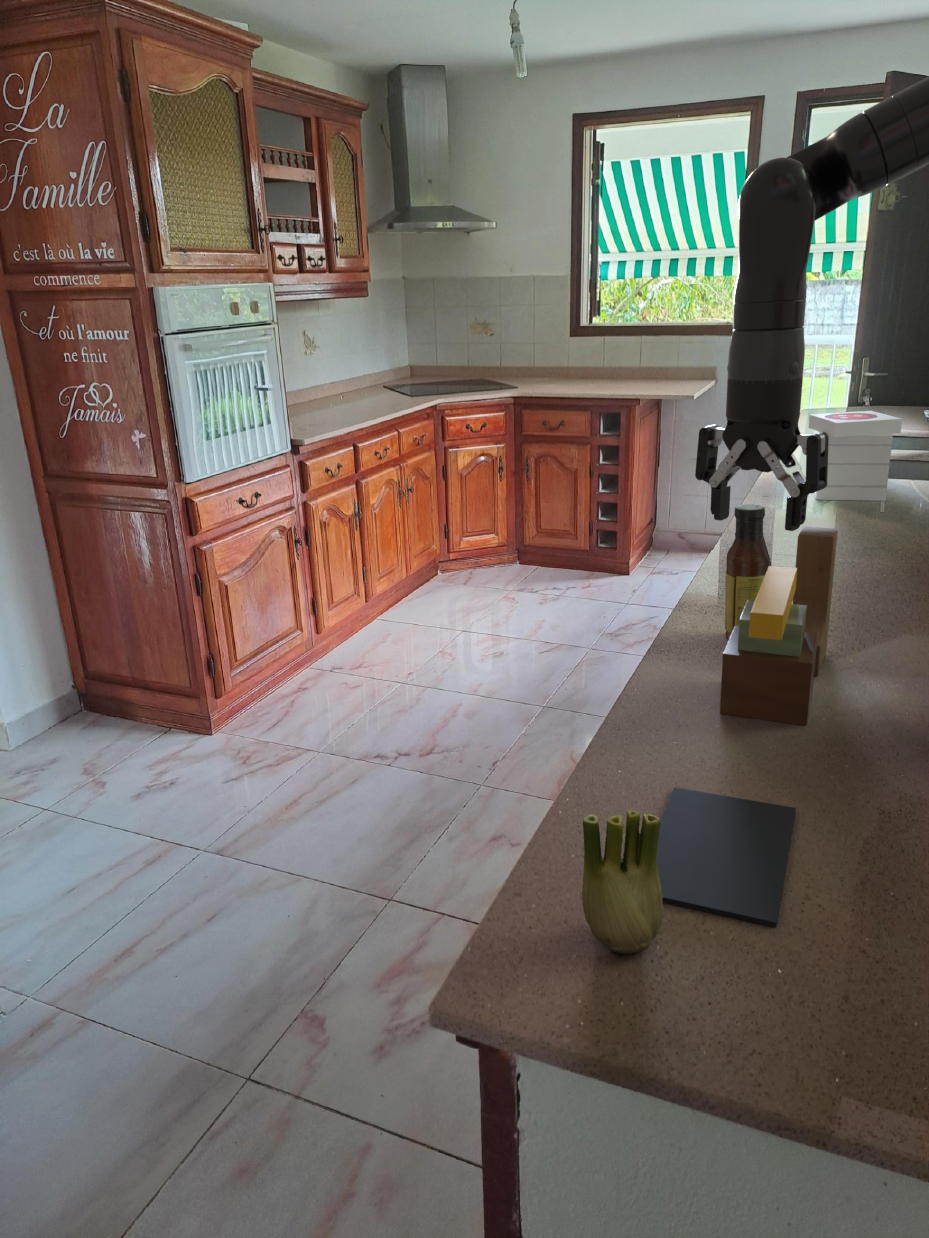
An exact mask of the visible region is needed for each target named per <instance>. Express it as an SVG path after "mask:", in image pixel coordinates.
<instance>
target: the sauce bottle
mask: <svg viewBox="0 0 929 1238" xmlns="http://www.w3.org/2000/svg"><path fill="white" fill-rule="evenodd" d="M765 516H766V508H765V506H764V505H762V504H759V503H744V504H738V505H736V506H735V507H734V518H735V532H734V536H735V537H734V539H733V542H732V544H731V546H730V547H729V549H728V551H726V552H727V553H726V568H725V569H726V570H725V584H724V585H725V586H724V587H725V588H724V589H725V590H724V593H725V594H724V598H725V599H724V629H725V634H724V635H725V639H726V640H728V641H729V638H730V636H731V633H732V631H733V629H734V626H735V625H739V620H740V617H741V615H742V612H743V610H744V608H745V605H746V603H747V601H755V600H756V597H757V595H758V592H759V589H760V587H761V584H762V582H763V579H764V577H765V574H766V572H767V569H768V566H772V561H771V557H770V553H769V551H768V547H767V544H766V539H765V536H764V518H765Z"/></svg>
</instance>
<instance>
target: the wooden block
mask: <svg viewBox="0 0 929 1238" xmlns="http://www.w3.org/2000/svg"><path fill="white" fill-rule="evenodd" d="M838 534H839V532H838V529H837V528H835V527H819V526H803V527H802V528H801V530H800V532H799V533H798V535H797V543H796V556H795V566H794V568H797V579H796V590H795V594H794V597H793V601H792V604H796V605H807V610H806V622H805V632H814V633H818V639H817V649H816V660H815V671H814V677H818V676H819V675H820V672H821V668H822V665H823V662H824V659H825V656H826V654H827V649H828V639H829V629H830V628H829V627H830V616H831V607H832V606H831V605H832V596H833V585H834V577H835V576H834V574H835V567H836V566H835V565H836V554H837V544H838Z"/></svg>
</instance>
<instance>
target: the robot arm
mask: <svg viewBox="0 0 929 1238" xmlns="http://www.w3.org/2000/svg"><path fill="white" fill-rule="evenodd" d="M928 165H929V76H928V77H926V78H925V77H924V78H923V79H921V80H919V81H918V82H915V83H914V84H912V85H909V86H908V87H906V88H904V89H902V90H899V91H898V92H896V93H894V94H893V95H891V96H889V97H887V98H886V99H885V98H884V99H883V100H881V101H880V102H878V103H876V104H874V105H872V106H870V107H868V108H866V109H865V110H863V111H862V112H859V113H858V114H856V115H854V116H853V117H851V118H849V119H848V120H846V121H845V122H843V123H841V125H839V126H838V127H836V129H834V130H833V131H832V132H831V133H830V134H828V135H826V136H825V137H823V138H822V139H819V140H817V141H815V142H813V143H812V144H810V145H808V146H806V147H803V148H802V149H800V150H797V151H796V152H794V153H792V154H790V155H788V156H786V157H776V158H775V157H774V158H771V159H769V160H766V161H764V162H763V163H762V164H760V165H759V166H757V167H756V168H755V169H754V170H753V171H752V172H751V173H750V174H749V176H748V177H747V178H746V180H745V181H744V183H743V185H742V187H741V190H740V193H739V197H738V201H737V214H738V215H737V216H738V220H739V221H738V222H739V223H738V274H737V278H736V282H735V286H734V287H735V288H734V293H733V294H734V295H733V309H732V311H733V312H732V327H731V328H732V331H731V338H730V343H729V349H728V358H727V359H728V361H727V367H726V368H727V371H726V372H727V381H726V383H727V384H726V401H725V417H726V425H725V427H720V426H719V425H718V424H711V425H706V426H705V427H701V428H700V429H699V431H698V440H697V450H696V451H697V452H696V460H695V461H696V462H695V471H694V472H695V474H694V476H695V478H696V480H698V481H704V482H705V483H707V484H708V485H709V486H710V509H709V510H710V514H711V515H713V519H714V520H715V521H719V522H720V521H724V520H727V519H728V518H729V516H730V506H731V485H729V484H728V483H729V482H730V481H731V480H732V478H733V477H734V476H735V475H736V473H737V472H739V471H740V470H741V471H752V470H756V471H758V472H761V473H770V472H772V473H773V475H774V476H775V478H776V479H777V480H778V481H779V482H781V483H782V485H783V486H784V488H785V490H786V491H787V493H788V495H789V496H787V497H786V507H785V520H784V530H785V531H788V532H794V531H796V530H798V529H800V528H801V526H802V525H803V524H804V523H805V522H806V519H807V517H806V516H807V508H808V507H807V506H808V497H809V495H810V494H815V492H817V491H819V490H822V489H824V488H826V486H827V476H828V442H829V436H828V434H827V433H826V432H820V433H818V432H817V433H804V434H803V433H801V432H800V427H799V421H800V417H801V408H802V407H801V405H802V396H803V395H802V394H803V381H804V368H805V353H806V344H805V319H806V307H807V306H806V305H807V269H808V265H809V264H808V263H809V259H810V253H811V246H812V240H813V235H814V234H813V233H814V225H815V222H816V221H817V220H819V219H821V218H823V217H824V216H826V215H828V214H830V213H832V212H834V211H835V210H837V209H839V208H840V207H842V206H843V205H845V204H847V203H848V202H851V201H853V200H854V199H858V198H861V197H864V196H866V195H870V194H871V193H874V192H877V191H878V190H880V189H883V188H885V187H886V186H889V185H892V183H893V184H894V183H895V182H897V181H899V180H901V179H902V178H904V177H906V176H908V175H911V174H913V173H915V172H916V171H919V170H920V169H922V168H924V167H927V166H928ZM722 442H724V444H725V446H726V448H727V449H728V453H727V454H726V455H725V457H724V458H723V459H722V461H721V462H720V463H719V464H718V466H717V463H718V453H719V446H721V444H722ZM799 446H800V448H801V451H802V453H803V455H804V456H805V475H804V474H803V472H802V470H803V468H802V466H801V464H800V462H799V461H798V460H797V457H796V456H795V454H794V452H795V451H796V450H797V449H798V448H799Z"/></svg>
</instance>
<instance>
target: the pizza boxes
mask: <svg viewBox="0 0 929 1238" xmlns="http://www.w3.org/2000/svg"><path fill="white" fill-rule="evenodd" d="M808 416H809V417H808V429H810V430H813V431H817V433H820V432H826V433H827V434H828V436H829V442H828V476H827V486H826V488H824V489H822V490H819V491H817V492H814V497H815V500H816V501H818V500H819V501H862V502H863V501H865V502H866V501H868V502H870V501H871V502H886V500H887V492H888V491H887V490H888V483H889V474H890V465H891V456H892V447H893V438H894V435H895V434H901V433H902V424H903V418H901V417H897V416H892V415H889V414H885V413H881V412H877V411H874V410H860V411H858V410H857V411H842V412H828V413H811V414H809V415H808ZM893 434H894V435H893Z"/></svg>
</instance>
